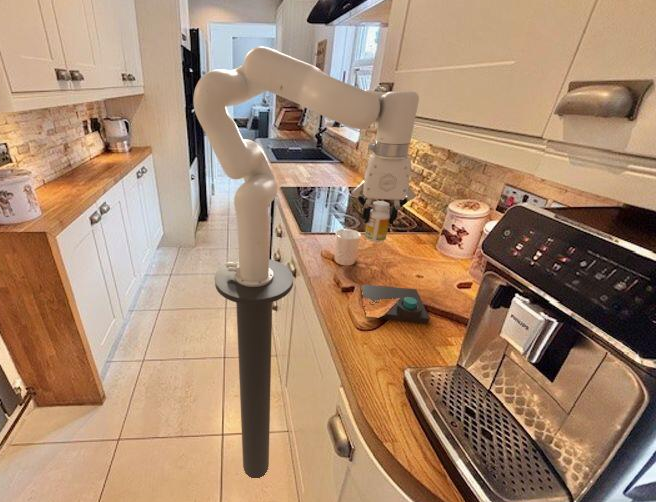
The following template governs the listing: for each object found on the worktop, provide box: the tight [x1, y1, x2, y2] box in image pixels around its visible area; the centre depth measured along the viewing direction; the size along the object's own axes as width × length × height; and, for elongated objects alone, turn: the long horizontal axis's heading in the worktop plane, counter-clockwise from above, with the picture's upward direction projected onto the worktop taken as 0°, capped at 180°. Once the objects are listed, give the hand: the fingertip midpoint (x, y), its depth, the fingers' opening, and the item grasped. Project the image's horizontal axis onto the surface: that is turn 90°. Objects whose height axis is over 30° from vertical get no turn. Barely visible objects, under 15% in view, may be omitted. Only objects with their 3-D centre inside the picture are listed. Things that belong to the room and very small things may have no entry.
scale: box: [360, 284, 430, 325], centre depth 87 cm, size 15×14×4 cm
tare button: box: [403, 297, 417, 309], centre depth 82 cm, size 3×3×2 cm
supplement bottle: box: [364, 200, 391, 243], centre depth 84 cm, size 5×5×10 cm
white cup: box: [333, 228, 362, 266], centre depth 107 cm, size 8×8×10 cm
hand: (378, 221), depth 84 cm, fingers closed on supplement bottle, 5 cm apart
